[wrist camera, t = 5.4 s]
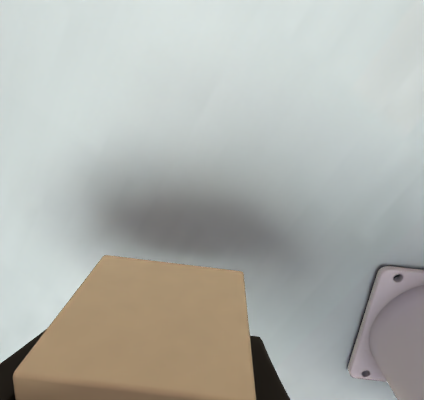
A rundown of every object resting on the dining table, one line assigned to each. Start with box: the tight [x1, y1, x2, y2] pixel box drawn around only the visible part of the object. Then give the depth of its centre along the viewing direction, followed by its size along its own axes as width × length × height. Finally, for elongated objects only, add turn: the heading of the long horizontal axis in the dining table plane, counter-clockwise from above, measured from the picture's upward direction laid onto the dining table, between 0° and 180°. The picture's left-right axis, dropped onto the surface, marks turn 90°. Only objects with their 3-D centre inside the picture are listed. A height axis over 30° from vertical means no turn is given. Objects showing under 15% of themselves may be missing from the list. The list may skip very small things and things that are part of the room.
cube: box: [13, 255, 256, 400], centre depth 8 cm, size 4×4×4 cm
